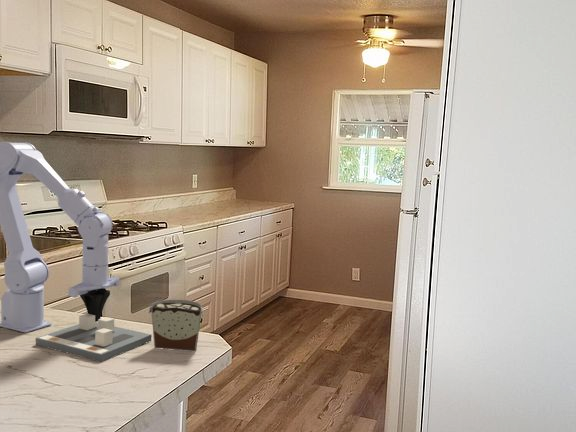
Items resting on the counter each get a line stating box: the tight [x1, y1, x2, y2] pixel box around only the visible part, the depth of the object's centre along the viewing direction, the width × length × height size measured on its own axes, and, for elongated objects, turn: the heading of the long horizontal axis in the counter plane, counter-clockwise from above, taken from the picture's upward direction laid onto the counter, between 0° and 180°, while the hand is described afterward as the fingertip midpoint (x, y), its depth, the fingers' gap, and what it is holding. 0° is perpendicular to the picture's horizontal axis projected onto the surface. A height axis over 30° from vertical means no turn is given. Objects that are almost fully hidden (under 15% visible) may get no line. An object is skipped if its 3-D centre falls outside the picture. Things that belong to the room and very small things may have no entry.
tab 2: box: [97, 316, 115, 332], centre depth 136 cm, size 2×2×3 cm
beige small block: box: [78, 313, 95, 330], centre depth 138 cm, size 2×2×3 cm
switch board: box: [35, 321, 153, 363], centre depth 133 cm, size 19×16×2 cm
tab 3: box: [95, 328, 113, 347], centre depth 128 cm, size 2×2×3 cm
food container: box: [148, 299, 205, 353], centre depth 134 cm, size 12×6×10 cm, turn 84°
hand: (94, 320), depth 140 cm, fingers closed
